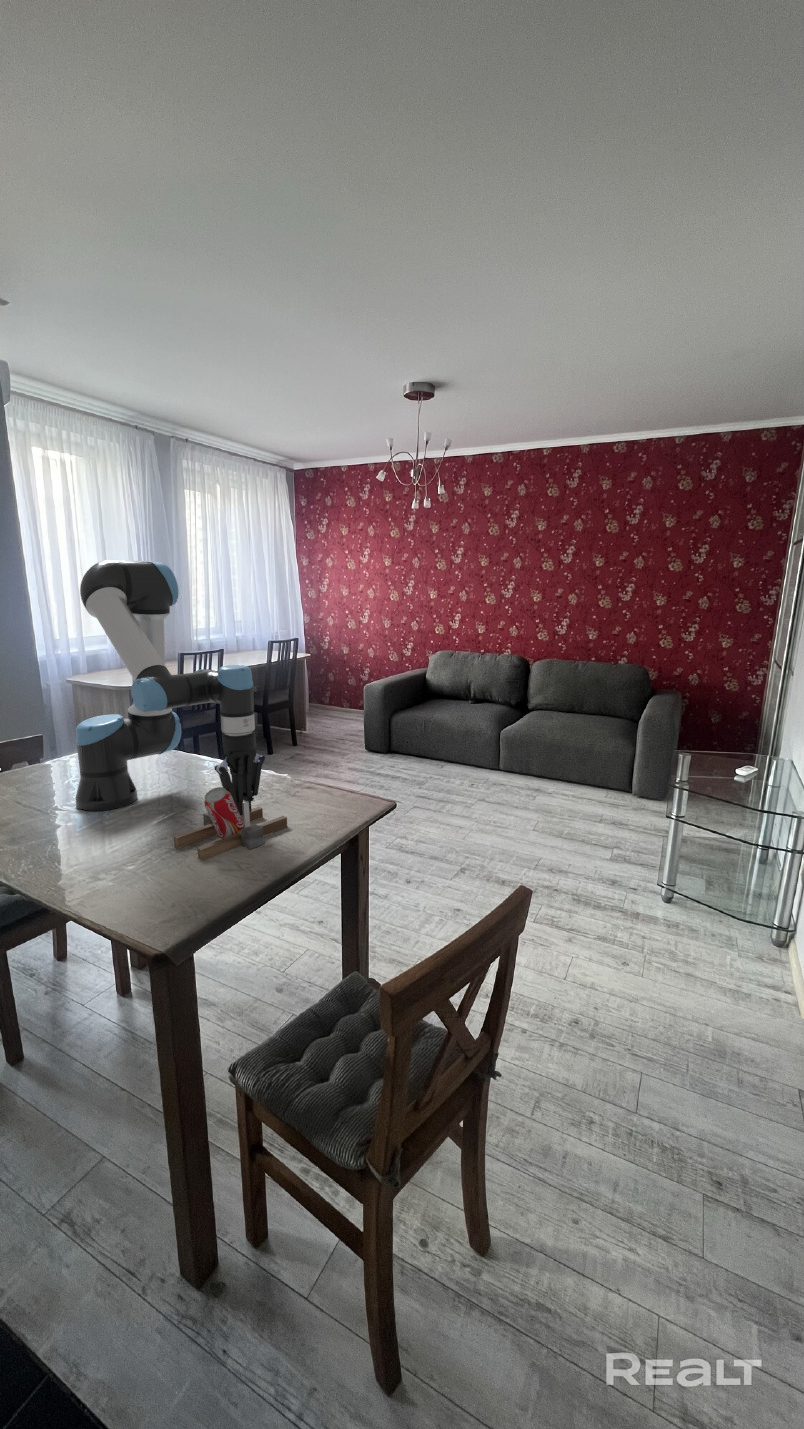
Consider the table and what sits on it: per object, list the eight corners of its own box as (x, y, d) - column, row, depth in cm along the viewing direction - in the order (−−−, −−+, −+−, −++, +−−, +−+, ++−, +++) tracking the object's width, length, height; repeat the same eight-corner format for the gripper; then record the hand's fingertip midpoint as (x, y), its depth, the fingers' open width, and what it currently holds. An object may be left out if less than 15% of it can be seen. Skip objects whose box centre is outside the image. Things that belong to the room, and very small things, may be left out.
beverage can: (241, 841, 137) (223, 802, 131) (216, 843, 138) (197, 804, 132) (248, 822, 142) (232, 784, 136) (224, 824, 143) (207, 786, 137)
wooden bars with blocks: (166, 842, 137) (164, 826, 136) (250, 812, 156) (250, 798, 155) (211, 865, 126) (210, 847, 125) (296, 830, 145) (296, 814, 144)
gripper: (224, 740, 131) (230, 839, 136) (271, 729, 141) (275, 822, 146) (204, 734, 135) (211, 830, 140) (251, 724, 145) (256, 814, 150)
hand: (244, 826), depth 143 cm, fingers closed
